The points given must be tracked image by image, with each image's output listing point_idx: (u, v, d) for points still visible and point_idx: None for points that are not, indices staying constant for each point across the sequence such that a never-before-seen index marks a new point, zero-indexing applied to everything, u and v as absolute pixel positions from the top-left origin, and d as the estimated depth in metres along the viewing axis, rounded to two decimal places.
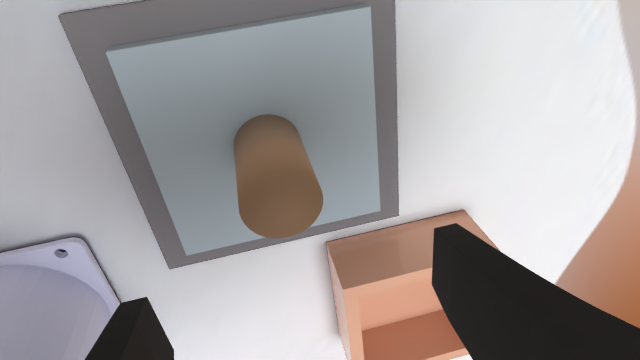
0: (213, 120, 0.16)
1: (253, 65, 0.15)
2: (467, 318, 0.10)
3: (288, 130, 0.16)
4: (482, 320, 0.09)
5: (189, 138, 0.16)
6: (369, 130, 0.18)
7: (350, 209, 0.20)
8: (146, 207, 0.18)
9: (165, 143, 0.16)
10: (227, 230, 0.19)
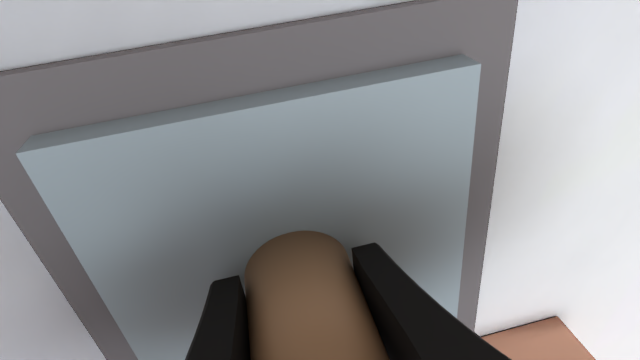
0: (212, 244, 0.10)
1: (279, 162, 0.09)
2: None
3: (337, 268, 0.09)
4: (388, 346, 0.09)
5: (172, 272, 0.10)
6: (453, 242, 0.12)
7: None
8: (109, 354, 0.12)
9: (132, 281, 0.10)
10: None
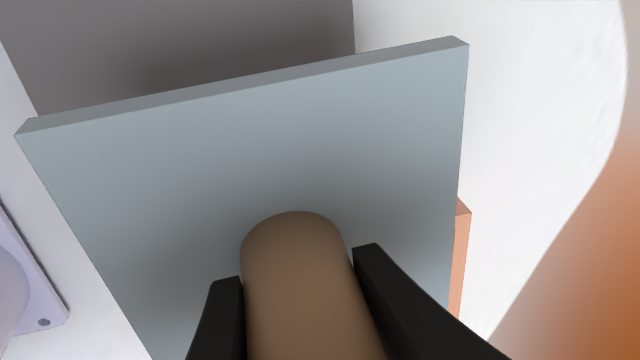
0: (207, 225, 0.10)
1: (271, 143, 0.09)
2: None
3: (329, 246, 0.10)
4: (388, 346, 0.09)
5: (169, 251, 0.10)
6: (444, 222, 0.12)
7: None
8: None
9: (131, 261, 0.10)
10: None
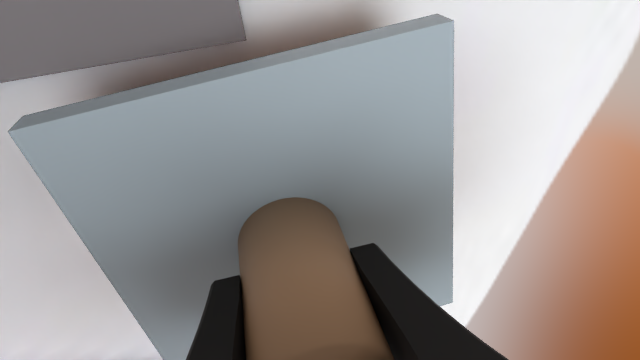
0: (204, 215, 0.10)
1: (261, 129, 0.09)
2: None
3: (323, 229, 0.10)
4: None
5: (168, 243, 0.10)
6: (442, 204, 0.12)
7: None
8: None
9: (130, 253, 0.10)
10: None
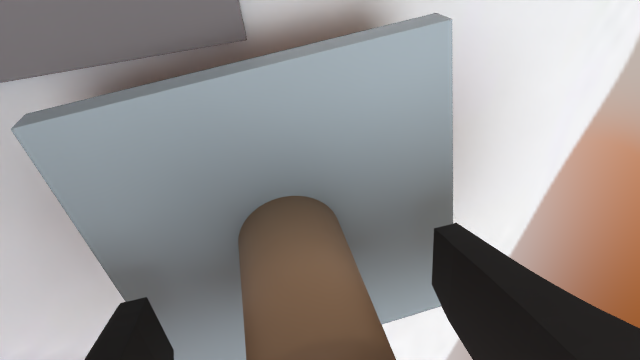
0: (204, 212, 0.10)
1: (262, 127, 0.09)
2: (467, 318, 0.10)
3: (323, 227, 0.10)
4: (482, 320, 0.09)
5: (169, 241, 0.10)
6: (442, 203, 0.12)
7: (410, 305, 0.14)
8: None
9: (131, 252, 0.10)
10: (237, 350, 0.13)
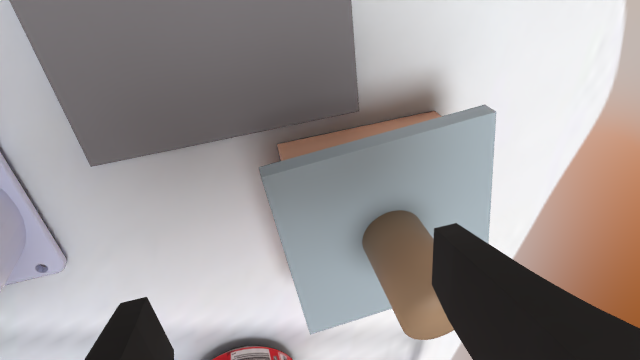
0: (347, 221, 0.17)
1: (387, 172, 0.16)
2: (467, 318, 0.10)
3: (421, 229, 0.17)
4: (482, 320, 0.09)
5: (324, 238, 0.17)
6: (483, 213, 0.19)
7: None
8: (53, 80, 0.16)
9: (303, 245, 0.17)
10: (348, 309, 0.20)
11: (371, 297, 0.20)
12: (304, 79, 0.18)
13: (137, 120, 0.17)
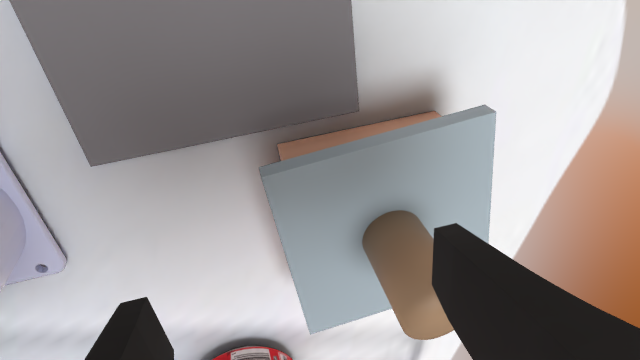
0: (347, 221, 0.17)
1: (387, 172, 0.16)
2: (467, 318, 0.10)
3: (421, 229, 0.17)
4: (482, 320, 0.09)
5: (324, 238, 0.17)
6: (483, 213, 0.19)
7: None
8: (53, 80, 0.16)
9: (303, 245, 0.17)
10: (348, 309, 0.20)
11: (371, 297, 0.20)
12: (304, 79, 0.18)
13: (137, 120, 0.17)
